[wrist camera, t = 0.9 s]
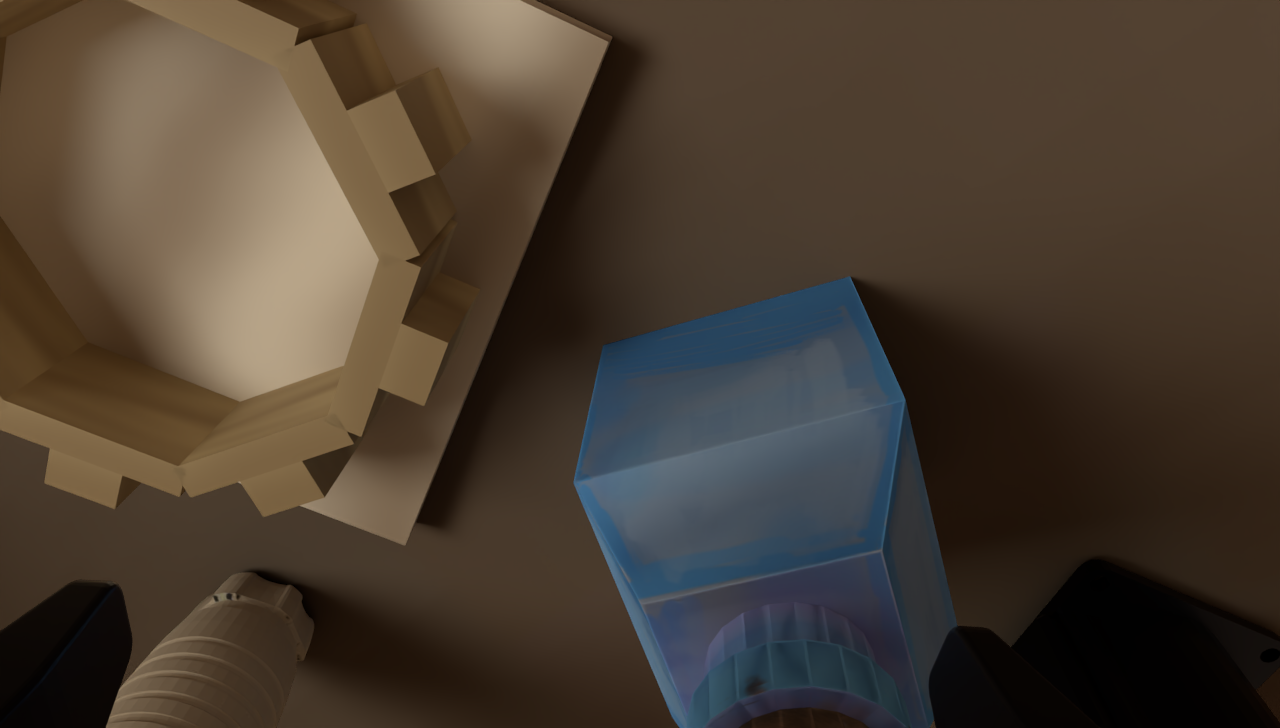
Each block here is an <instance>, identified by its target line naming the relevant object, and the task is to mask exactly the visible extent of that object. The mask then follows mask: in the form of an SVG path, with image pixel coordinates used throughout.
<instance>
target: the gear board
mask: <svg viewBox="0 0 1280 728" xmlns="http://www.w3.org/2000/svg"><path fill="white" fill-rule="evenodd" d="M611 40H612V36H610V35H608V34H606V33H604V32H602V31H600V30H597V29H595V28H593V27H591V26H589V25H587V24H585V23H583V22H580V21H578V20H576V19H574V18H572V17H570V16H568V15H566V14H564V13H561V12H559V11H557V10H555V9H553V8H551V7H549V6H547V5H544V4H542V3H540V2H538V1H536V0H0V430H2V431H5V432H8V433H10V434H13V435H16V436H18V437H21V438H24V439H26V440H29V441H32V442H34V443H37V444H40V445H42V446H45V447H48V448H50V452H49V458H48V464H47V469H46V475H45V481H44V483H45V484H48V485H51V486H54V487H56V488H59V489H62V490H64V491H67V492H70V493H73V494H75V495H78V496H81V497H83V498H86V499H89V500H91V501H94V502H97V503H100V504H102V505H105V506H108V507H110V508H113V509H116V508H117V507H118V506H119V505H120V504H121V503H122V502H123V501H124V500H125V499H126V498H127V497H128V496H129V495H130V494H131V493H132V492H133V491H134V490H135V489H136V488H137V487H138V486H139V485H140V484H141V483H144V484H147V485H149V486H152V487H155V488H157V489H160V490H163V491H165V492H168V493H171V494H173V495H176V496H179V497H180V496H181V495H182V494H183V493H184V492H185V491H187V493H188V494H189V496H190V497H194V496H197V495H200V494H203V493H206V492H209V491H212V490H215V489H218V488H221V487H224V486H227V485H230V484H234V483H237V482H239V483H241V484H242V485H243V487H244V488H245V490H246V491H247V493H248V494H249V496H250V497H251V499H252V500H253V502H254V503H255V505H256V506H257V508H258V509H259V511H260V512H261V514H262V515H263V517H265V516H268V515H271V514H274V513H278V512H281V511H284V510H287V509H290V508H293V507H296V506H302V507H305V508H307V509H310V510H313V511H315V512H318V513H321V514H323V515H326V516H328V517H331V518H334V519H336V520H339V521H342V522H344V523H347V524H350V525H352V526H355V527H357V528H360V529H363V530H365V531H368V532H371V533H373V534H376V535H378V536H381V537H384V538H386V539H389V540H392V541H394V542H397V543H400V544H402V545H406V543H407V541H408V538H409V536H410V534H411V532H412V530H413V528H414V526H415V524H416V521H417V519H418V516H419V514H420V511H421V509H422V506H423V504H424V501H425V499H426V496H427V494H428V491H429V489H430V487H431V484H432V482H433V479H434V477H435V474H436V472H437V469H438V467H439V464H440V462H441V459H442V457H443V454H444V452H445V450H446V447H447V445H448V442H449V440H450V437H451V435H452V432H453V430H454V427H455V425H456V422H457V420H458V417H459V415H460V412H461V410H462V408H463V405H464V403H465V400H466V398H467V395H468V393H469V390H470V388H471V385H472V383H473V380H474V378H475V375H476V373H477V371H478V368H479V366H480V363H481V361H482V358H483V356H484V353H485V351H486V348H487V346H488V343H489V341H490V338H491V336H492V334H493V331H494V329H495V326H496V324H497V321H498V319H499V316H500V314H501V311H502V309H503V306H504V304H505V301H506V299H507V297H508V294H509V292H510V289H511V287H512V284H513V282H514V279H515V277H516V274H517V272H518V269H519V267H520V264H521V262H522V260H523V257H524V255H525V252H526V250H527V247H528V245H529V242H530V240H531V237H532V235H533V232H534V230H535V227H536V225H537V222H538V220H539V218H540V215H541V213H542V210H543V208H544V205H545V203H546V200H547V198H548V195H549V193H550V190H551V188H552V185H553V183H554V181H555V178H556V176H557V173H558V171H559V168H560V166H561V163H562V161H563V158H564V156H565V153H566V151H567V148H568V146H569V144H570V141H571V139H572V136H573V134H574V131H575V129H576V126H577V124H578V121H579V119H580V116H581V114H582V111H583V109H584V107H585V104H586V102H587V99H588V97H589V94H590V92H591V89H592V87H593V84H594V82H595V79H596V77H597V74H598V72H599V70H600V67H601V65H602V62H603V60H604V57H605V55H606V52H607V50H608V47H609V45H610V42H611Z"/></svg>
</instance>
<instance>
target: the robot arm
mask: <svg viewBox="0 0 1280 728" xmlns="http://www.w3.org/2000/svg"><path fill="white" fill-rule="evenodd" d="M1097 577H1102V578H1101V579H1100V580H1099V581H1096V582H1091V581H1092V580H1093V579H1095V578H1097ZM1267 649H1268V650H1267ZM1265 650H1266V651H1265ZM131 651H132V633H131V628H130V624H129V619H128V614H127V610H126V605H125V600H124V596H123V592H122V589H121V587H120V586H119V585H118V584H117V583H115V582H112V581H97V580H76V581H73V582H71V583H69V584H67V585H65V586H64V587H62V588H61V589H60V590H58V591H57V592H55V593H54V594H52V595H51V596H50V597H48V598H47V599H45V600H44V601H42V602H41V603H40V604H38V605H37V606H35V607H34V608H32V609H31V610H30V611H28V612H27V613H25V614H24V615H22V616H21V617H20V618H18V619H17V620H15V621H14V622H12V623H11V624H10V625H8V626H7V627H5V628H4V629H2V630H1V631H0V728H106V726H107V723H108V720H109V717H110V714H111V711H112V708H113V706H114V703H115V700H116V697H117V694H118V691H119V688H120V685H121V683H122V680H123V677H124V674H125V671H126V668H127V665H128V662H129V659H130V655H131ZM1279 667H1280V636H1278V635H1277V634H1276V633H1274V632H1272V631H1269V630H1267V629H1265V628H1262V627H1260V626H1258V625H1255V624H1253V623H1250V622H1248V621H1246V620H1243V619H1241V618H1239V617H1236V616H1234V615H1232V614H1229V613H1227V612H1224V611H1222V610H1220V609H1217V608H1215V607H1213V606H1210V605H1208V604H1205V603H1203V602H1201V601H1198V600H1196V599H1194V598H1191V597H1189V596H1187V595H1184V594H1182V593H1179V592H1177V591H1175V590H1172V589H1170V588H1168V587H1165V586H1163V585H1161V584H1158V583H1156V582H1153V581H1151V580H1149V579H1146V578H1144V577H1142V576H1139V575H1137V574H1134V573H1132V572H1130V571H1127V570H1125V569H1123V568H1120V567H1118V566H1116V565H1113V564H1111V563H1108V562H1106V561H1102V560H1091V561H1088V562H1086V563H1084V564H1082V565H1081V566H1080V567H1079V568H1078V569H1077V570H1076V571H1075V572H1074V574H1073V575H1072V576H1071V577H1070V578H1069V579H1068V581H1067V582H1066V583H1065V584H1064V585H1063V587H1062V588H1061V589H1060V590H1059V591H1058V593H1057V594H1056V595H1055V596H1054V597H1053V598H1052V600H1051V601H1050V602H1049V603H1048V604H1047V606H1046V607H1045V608H1044V609H1043V610H1042V612H1041V613H1040V614H1039V615H1038V616H1037V617H1036V619H1035V620H1034V621H1033V622H1032V623H1031V625H1030V626H1029V627H1028V628H1027V629H1026V631H1025V632H1024V633H1023V634H1022V635H1021V636H1020V638H1019V639H1018V640H1017V641H1016V642H1015V644H1014V645H1013V646H1012V647H1010V646H1009V645H1008V644H1006V643H1005V642H1004V641H1003V640H1002V639H1001V638H1000V637H999V636H998V635H996V634H995V633H994V632H993V631H991V630H989V629H987V628H983V627H967V626H956V627H954V628H952V629H951V630H950V631H949V632H948V634H947V636H946V638H945V640H944V643H943V645H942V647H941V649H940V652H939V654H938V656H937V658H936V660H935V663H934V665H933V667H932V669H931V672H930V675H929V683H928V688H929V697H930V701H931V706H932V711H933V716H934V721H935V725H936V728H1280V723H1279V721H1278V720H1277V718H1276V717H1275V716H1274V714H1273V713H1272V712H1271V710H1270V709H1269V708H1268V706H1267V705H1266V704H1265V702H1264V701H1263V699H1262V698H1261V697H1260V695H1259V694H1258V693H1257V691H1256V689H1257V688H1258V687H1259V686H1261V685H1262V684H1263V683H1264V682H1265V681H1266V680H1267V679H1268V678H1269V677H1270V676H1271V675H1272V674H1273V673H1274V672H1275V671H1276V670H1277V669H1278V668H1279Z"/></svg>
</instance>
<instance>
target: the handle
mask: <svg viewBox="0 0 1280 728" xmlns="http://www.w3.org/2000/svg"><path fill="white" fill-rule="evenodd" d="M302 599H303V597H302V594H301V593H300V592H299V591H298V590H297V589H296V588H295V587H294V586H292V585H281V584H277V583H273V582H270V581H268V580H265V579H263V578H261V577H259V576H258V575H257V574H256V573H252V572H245V573H237V574H234V575H232V576H231V577H230V578H228V579H227V580H226V581H225V582H224V583H223V584H222V585H221V586H220V587H219V588H218V589H217V591H216V592H215V593H214V594H211V595H209V596H208V597H207V598H205V599H204V600H203V601H202V602H201V603H200V604H199V605H198V606H197V607H196V608H195V609H194V610H193V611H192V612H191V613H190V615H189V616H188V617H187V618H186V619H185V620H183V621H182V622H181V623H180V624H179V625H178V626H177V627H176V628H175V629H173V630H172V631H171V632H170V633H169V634H168V635H167V636H166V637H165V638H164V639H163V640H162V641H161V642H160V643H159V644H158V645H157V646H156V648H155V649H154V650H153V651H152V652H151V653H150V654H149V656H148V657H146V659H145V660H144V661H143V662H142V663H141V664H140V665H139V667H138V668H137V669H136V670H135V671H134V673H133V674H132V675H131V676H130V677H129V678H128V679H127V681H126V682H125V683H124V684H123V685H122V686H121V688H120V689H119V691H118V694H117V697H116V700H115V703H114V706H113V708H112V711H111V714H110V717H109V720H108V723H107V726H106V728H276V727H277V725H278V722H279V720H280V717H281V715H282V713H283V710H284V707H285V704H286V702H287V699H288V696H289V693H290V690H291V687H292V683H293V680H294V676H295V673H296V668H297V661H304V658H305V656H306V653H307V651H308V648H309V646H310V642H311V639H312V635H313V631H314V622H313V619H312V618H310V617H309V616H308V615H307V614H306V612H305V610H304V608H303V605H302V602H301V601H302Z"/></svg>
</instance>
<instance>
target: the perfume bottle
mask: <svg viewBox="0 0 1280 728" xmlns="http://www.w3.org/2000/svg"><path fill="white" fill-rule="evenodd" d="M574 485H575V487H576V490H577V492H578V495H579V497H580V499H581V502H582V504H583V506H584V509H585V511H586V514H587V516H588V518H589V521H590V523H591V525H592V528H593V530H594V533H595V535H596V537H597V540H598V542H599V544H600V547H601V549H602V552H603V554H604V556H605V559H606V561H607V563H608V566H609V568H610V571H611V573H612V575H613V578H614V580H615V583H616V585H617V587H618V590H619V592H620V594H621V597H622V599H623V602H624V604H625V606H626V609H627V611H628V613H629V616H630V618H631V621H632V623H633V625H634V628H635V630H636V632H637V635H638V637H639V640H640V642H641V644H642V647H643V649H644V651H645V654H646V656H647V659H648V661H649V663H650V666H651V668H652V670H653V673H654V675H655V678H656V680H657V682H658V685H659V687H660V689H661V692H662V694H663V697H664V699H665V701H666V704H667V706H668V708H669V711H670V713H671V716H672V718H673V719H674V720H675V722H676V723H677V725H678V726H679V728H930V726H931V724H932V722H933V720H934V716H933V711H932V706H931V701H930V697H929V688H928V683H929V675H930V672H931V669H932V667H933V665H934V663H935V660H936V658H937V656H938V654H939V652H940V649H941V647H942V645H943V643H944V640H945V638H946V636H947V634H948V632H949V631H950V630H951V629H952V628H954V627H956V626H957V622H956V618H955V613H954V609H953V605H952V600H951V596H950V591H949V587H948V583H947V578H946V574H945V570H944V565H943V561H942V557H941V552H940V548H939V544H938V539H937V535H936V531H935V526H934V522H933V517H932V513H931V509H930V504H929V500H928V496H927V491H926V487H925V483H924V478H923V474H922V470H921V465H920V461H919V457H918V452H917V448H916V443H915V439H914V435H913V430H912V426H911V422H910V417H909V413H908V409H907V404H906V400H905V397H904V395H903V393H902V391H901V388H900V386H899V384H898V382H897V380H896V377H895V375H894V373H893V371H892V368H891V366H890V364H889V362H888V360H887V357H886V355H885V353H884V351H883V349H882V346H881V344H880V342H879V340H878V337H877V335H876V333H875V331H874V329H873V326H872V324H871V322H870V320H869V317H868V315H867V313H866V311H865V309H864V306H863V304H862V302H861V300H860V297H859V295H858V293H857V291H856V289H855V286H854V284H853V282H852V280H851V277H847V278H843V279H839V280H836V281H832V282H829V283H825V284H821V285H818V286H814V287H811V288H807V289H804V290H800V291H796V292H793V293H789V294H786V295H782V296H778V297H775V298H771V299H768V300H764V301H760V302H757V303H753V304H750V305H746V306H743V307H739V308H735V309H732V310H728V311H725V312H721V313H717V314H714V315H710V316H707V317H703V318H699V319H696V320H692V321H689V322H685V323H682V324H678V325H674V326H671V327H667V328H664V329H660V330H656V331H653V332H649V333H646V334H642V335H639V336H635V337H631V338H628V339H624V340H621V341H617V342H613V343H610V344H606V345H603V349H602V353H601V358H600V362H599V367H598V372H597V376H596V381H595V386H594V390H593V395H592V399H591V404H590V409H589V413H588V418H587V423H586V427H585V432H584V437H583V441H582V446H581V450H580V455H579V460H578V464H577V469H576V474H575V478H574Z"/></svg>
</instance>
